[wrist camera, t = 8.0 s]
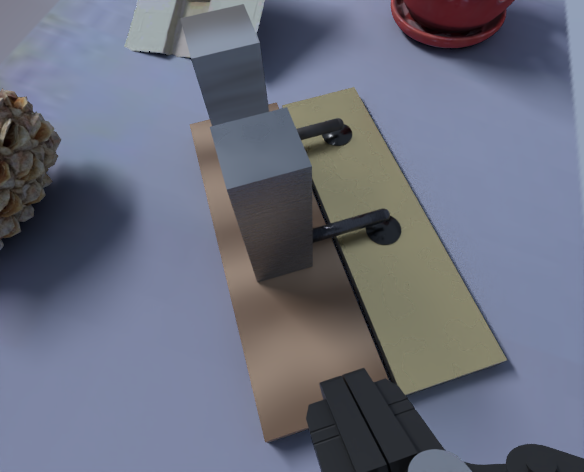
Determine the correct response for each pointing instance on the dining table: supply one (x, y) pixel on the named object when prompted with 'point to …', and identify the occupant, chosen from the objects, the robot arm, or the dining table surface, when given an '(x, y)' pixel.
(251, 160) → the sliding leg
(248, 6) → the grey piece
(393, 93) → the dining table surface
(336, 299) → the base
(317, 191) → the bolt plate
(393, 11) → the plant pot
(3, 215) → the pine cone
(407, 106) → the dining table surface
